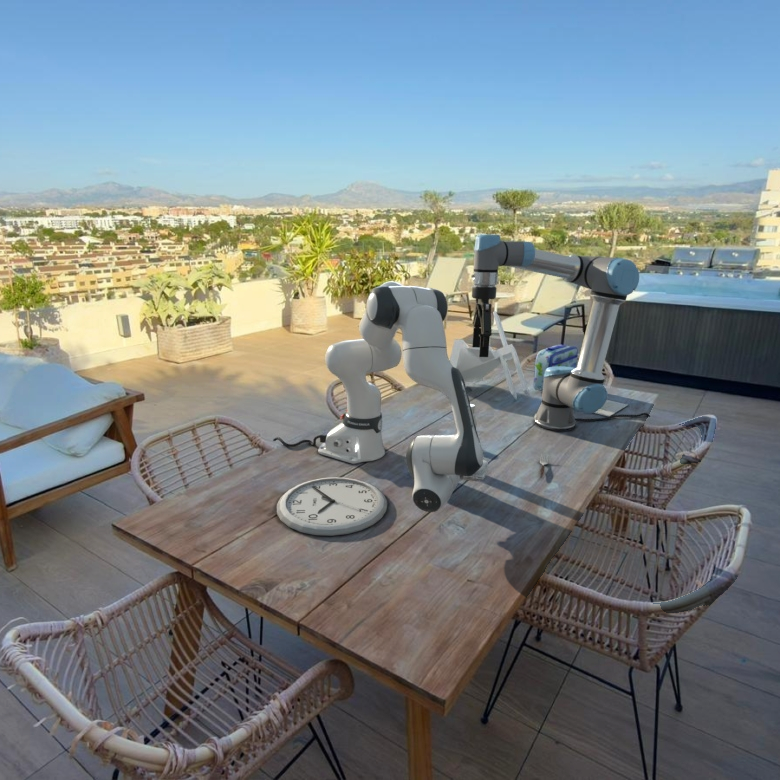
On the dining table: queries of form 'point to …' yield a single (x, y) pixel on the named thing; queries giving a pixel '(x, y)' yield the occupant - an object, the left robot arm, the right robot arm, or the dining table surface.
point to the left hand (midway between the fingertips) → (457, 453)
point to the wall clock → (331, 506)
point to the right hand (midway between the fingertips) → (479, 352)
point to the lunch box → (553, 361)
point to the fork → (543, 464)
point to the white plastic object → (486, 360)
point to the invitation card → (610, 408)
